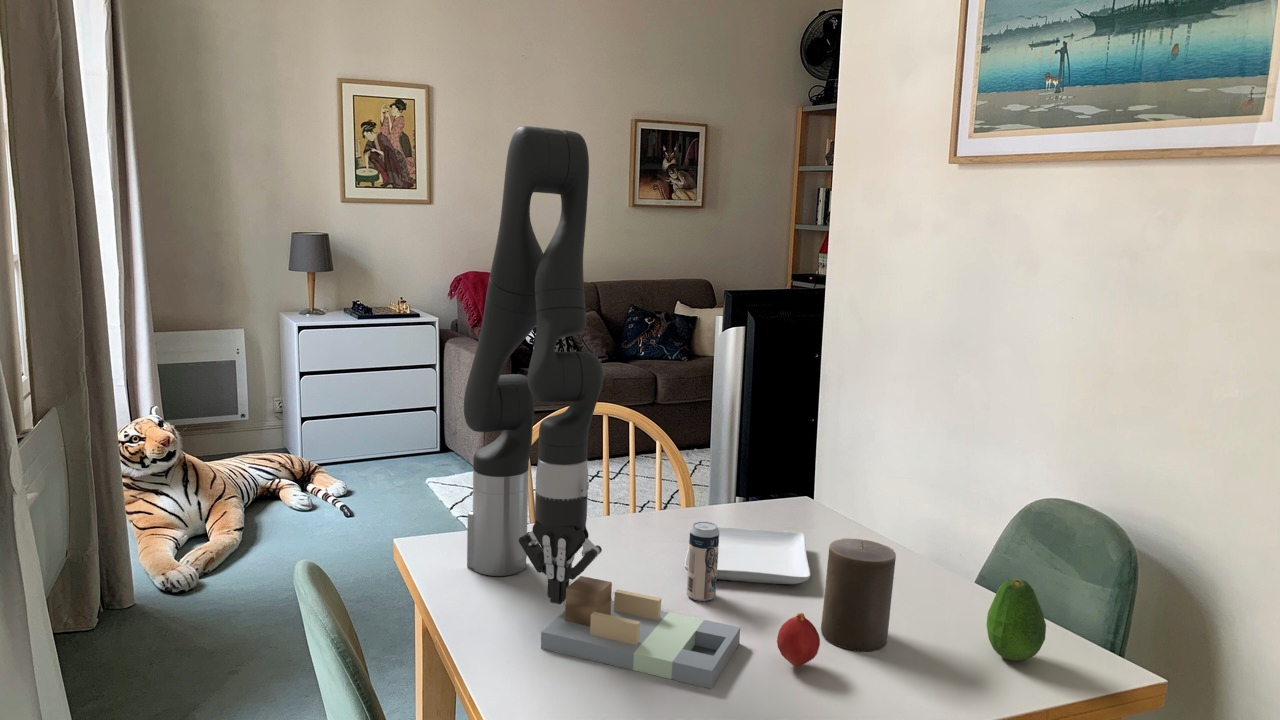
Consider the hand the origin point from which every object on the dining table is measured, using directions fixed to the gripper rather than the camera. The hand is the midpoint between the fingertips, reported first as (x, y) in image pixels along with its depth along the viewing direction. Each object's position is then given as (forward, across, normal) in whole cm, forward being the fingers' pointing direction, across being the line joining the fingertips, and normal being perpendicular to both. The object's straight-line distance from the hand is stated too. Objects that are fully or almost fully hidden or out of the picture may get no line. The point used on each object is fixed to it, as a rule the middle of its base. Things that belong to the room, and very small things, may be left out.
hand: (558, 601), depth 136 cm
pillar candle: (+4, +41, +17) cm, 45 cm away
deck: (+4, +14, 0) cm, 15 cm away
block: (+1, +5, 0) cm, 5 cm away
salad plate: (+5, +19, +37) cm, 42 cm away
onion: (+4, +35, +4) cm, 35 cm away
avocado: (+4, +63, +20) cm, 66 cm away
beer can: (+4, +16, +20) cm, 26 cm away
